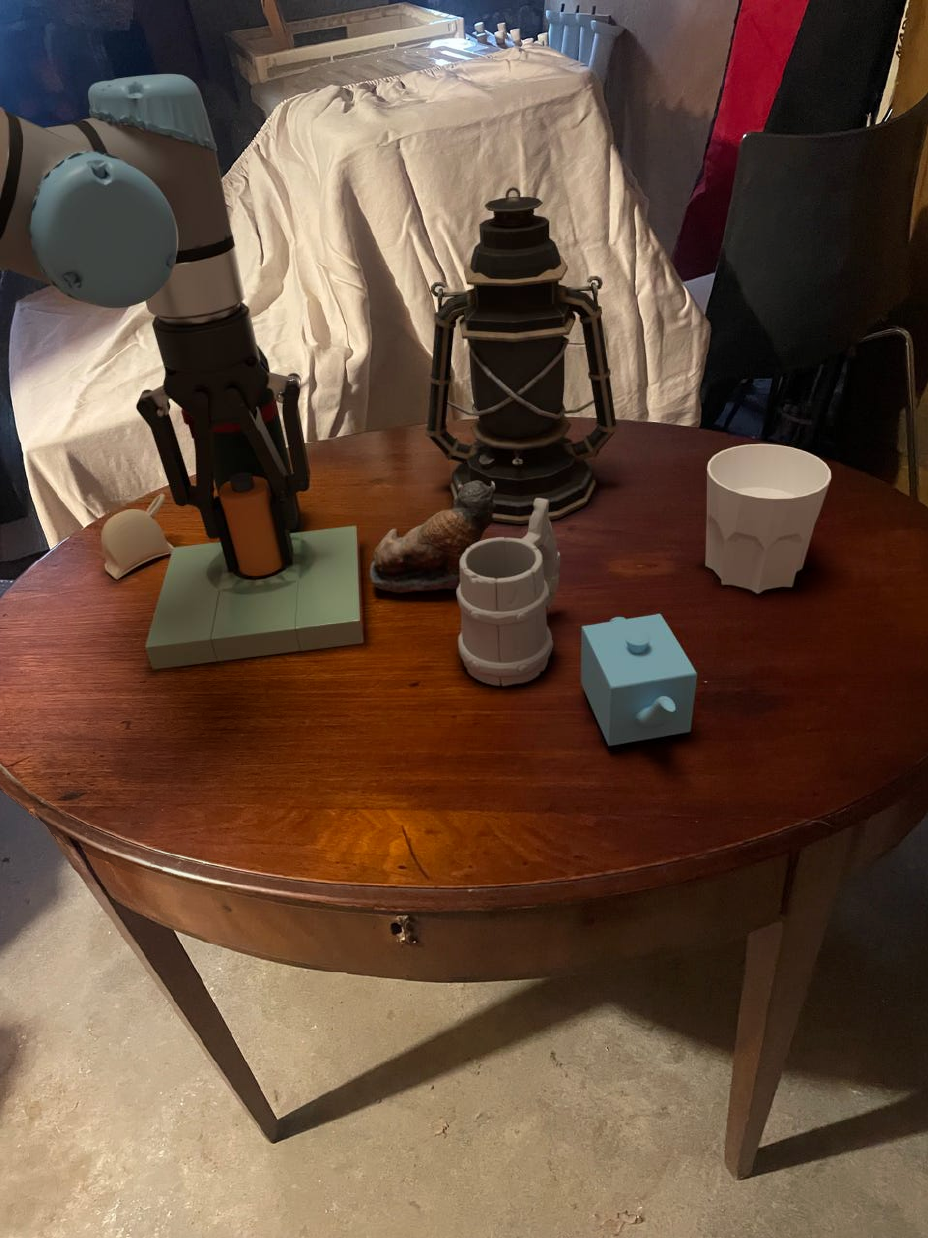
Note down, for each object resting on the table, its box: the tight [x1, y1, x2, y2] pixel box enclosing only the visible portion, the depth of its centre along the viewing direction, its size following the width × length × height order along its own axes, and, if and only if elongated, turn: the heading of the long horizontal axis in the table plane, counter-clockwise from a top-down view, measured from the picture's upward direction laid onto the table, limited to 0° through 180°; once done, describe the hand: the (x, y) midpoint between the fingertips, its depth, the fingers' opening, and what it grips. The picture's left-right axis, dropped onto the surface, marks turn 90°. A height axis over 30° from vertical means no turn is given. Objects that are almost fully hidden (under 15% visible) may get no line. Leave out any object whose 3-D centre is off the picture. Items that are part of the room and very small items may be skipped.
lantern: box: [425, 186, 619, 526], centre depth 87 cm, size 20×16×30 cm
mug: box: [455, 498, 561, 687], centre depth 70 cm, size 8×12×12 cm, turn 145°
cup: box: [704, 443, 832, 595], centre depth 78 cm, size 10×10×10 cm
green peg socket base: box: [144, 525, 365, 671], centre depth 81 cm, size 18×16×2 cm
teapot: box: [580, 613, 698, 747], centre depth 63 cm, size 12×6×8 cm, turn 10°
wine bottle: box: [180, 344, 304, 533], centre depth 83 cm, size 8×10×30 cm
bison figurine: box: [369, 481, 496, 594], centre depth 79 cm, size 12×7×10 cm, turn 91°
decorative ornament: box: [100, 493, 174, 581], centre depth 88 cm, size 4×8×5 cm, turn 133°
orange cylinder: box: [219, 472, 284, 577], centre depth 79 cm, size 4×4×9 cm
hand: (261, 560), depth 82 cm, fingers closed on orange cylinder, 4 cm apart
